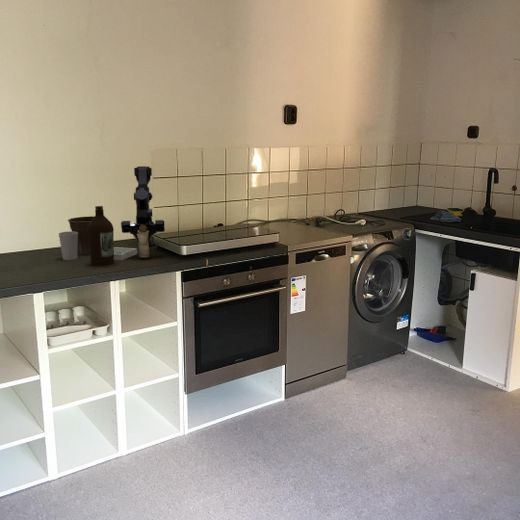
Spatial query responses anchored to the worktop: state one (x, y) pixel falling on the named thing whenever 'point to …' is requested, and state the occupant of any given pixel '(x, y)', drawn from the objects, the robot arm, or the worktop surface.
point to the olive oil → (101, 239)
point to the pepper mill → (143, 241)
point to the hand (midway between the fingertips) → (143, 242)
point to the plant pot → (81, 232)
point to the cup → (69, 245)
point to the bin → (124, 253)
